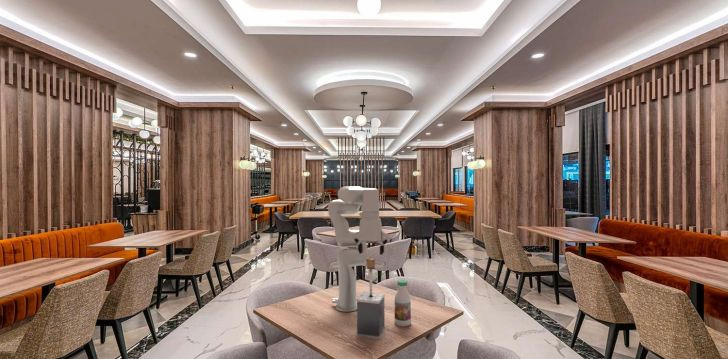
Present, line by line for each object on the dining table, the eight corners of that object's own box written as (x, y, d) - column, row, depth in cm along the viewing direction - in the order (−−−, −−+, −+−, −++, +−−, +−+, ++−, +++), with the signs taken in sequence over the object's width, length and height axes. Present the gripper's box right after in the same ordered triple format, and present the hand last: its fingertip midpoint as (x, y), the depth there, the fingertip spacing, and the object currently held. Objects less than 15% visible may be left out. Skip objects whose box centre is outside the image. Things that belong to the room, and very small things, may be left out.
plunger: (359, 306, 137) (359, 260, 138) (364, 299, 145) (364, 256, 146) (377, 308, 135) (377, 261, 135) (382, 301, 143) (381, 257, 143)
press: (356, 336, 136) (356, 299, 136) (365, 323, 148) (364, 289, 149) (379, 339, 133) (379, 301, 133) (386, 326, 145) (386, 291, 146)
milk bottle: (393, 320, 152) (392, 279, 153) (408, 319, 153) (408, 278, 153) (396, 327, 144) (395, 283, 145) (412, 326, 145) (412, 283, 145)
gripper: (349, 216, 140) (350, 254, 139) (387, 216, 135) (388, 256, 134) (355, 214, 147) (355, 251, 146) (391, 215, 142) (391, 253, 141)
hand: (371, 253), depth 140 cm, fingers open, 9 cm apart
